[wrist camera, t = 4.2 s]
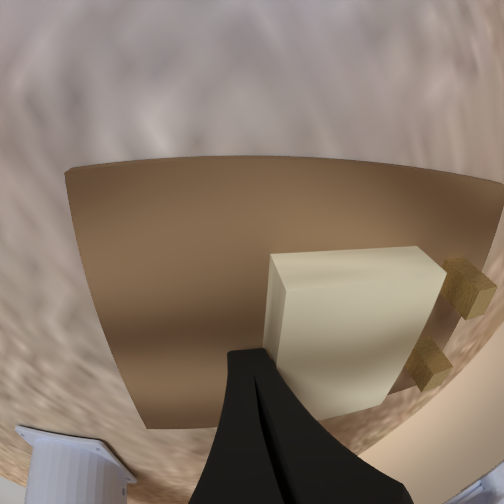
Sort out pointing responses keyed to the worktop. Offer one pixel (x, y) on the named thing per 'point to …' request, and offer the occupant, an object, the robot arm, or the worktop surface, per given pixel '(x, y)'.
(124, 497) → the robot arm
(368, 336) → the ivory block
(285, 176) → the bench board
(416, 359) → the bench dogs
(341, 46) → the worktop surface
